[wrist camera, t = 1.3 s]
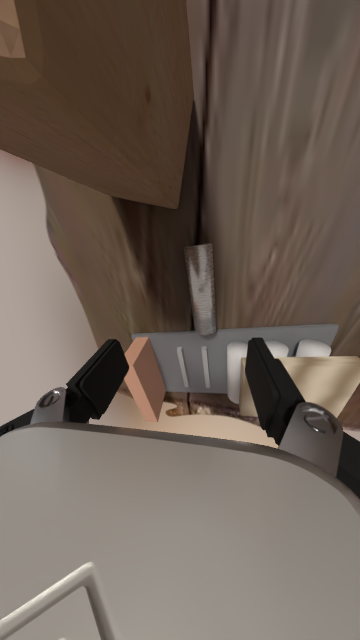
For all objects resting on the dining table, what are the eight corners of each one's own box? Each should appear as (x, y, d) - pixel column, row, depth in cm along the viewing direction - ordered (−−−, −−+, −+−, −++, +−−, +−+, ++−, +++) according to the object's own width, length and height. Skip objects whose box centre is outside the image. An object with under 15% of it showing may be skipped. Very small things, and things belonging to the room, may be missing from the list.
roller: (209, 242, 22) (215, 242, 18) (214, 321, 29) (218, 333, 25) (183, 247, 22) (184, 248, 19) (193, 324, 29) (195, 336, 25)
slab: (356, 356, 21) (369, 366, 20) (326, 410, 28) (334, 421, 26) (241, 357, 25) (243, 366, 23) (238, 405, 31) (240, 415, 30)
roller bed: (335, 323, 25) (392, 362, 17) (306, 393, 34) (336, 438, 26) (132, 333, 33) (110, 363, 25) (153, 388, 42) (142, 421, 34)
